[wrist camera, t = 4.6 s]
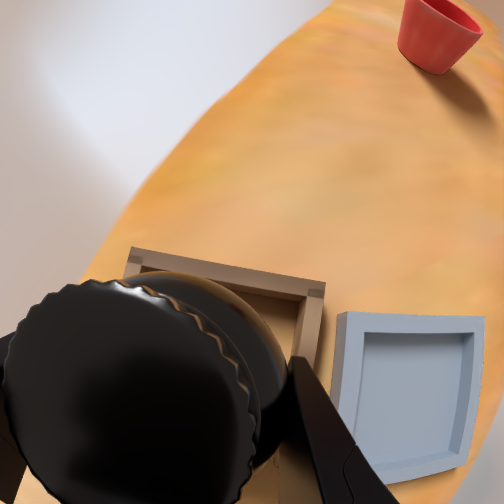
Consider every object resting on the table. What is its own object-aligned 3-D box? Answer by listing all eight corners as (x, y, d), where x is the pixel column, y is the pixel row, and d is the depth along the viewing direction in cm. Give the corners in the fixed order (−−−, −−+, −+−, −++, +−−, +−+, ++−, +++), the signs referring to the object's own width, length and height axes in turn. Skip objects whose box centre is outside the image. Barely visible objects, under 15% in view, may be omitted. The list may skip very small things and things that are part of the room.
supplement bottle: (182, 283, 16) (76, 154, 5) (291, 346, 16) (412, 341, 4) (121, 385, 14) (-51, 417, 3) (227, 451, 14) (205, 612, 2)
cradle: (286, 454, 16) (292, 468, 14) (112, 415, 17) (96, 423, 14) (316, 289, 20) (325, 282, 18) (143, 257, 20) (131, 246, 18)
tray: (451, 458, 16) (465, 464, 14) (316, 479, 16) (323, 491, 14) (468, 319, 19) (484, 316, 17) (337, 314, 19) (347, 311, 17)
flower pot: (462, 73, 30) (490, 29, 20) (439, 92, 27) (473, 37, 18) (407, 31, 32) (427, -15, 22) (373, 42, 29) (394, -15, 20)
